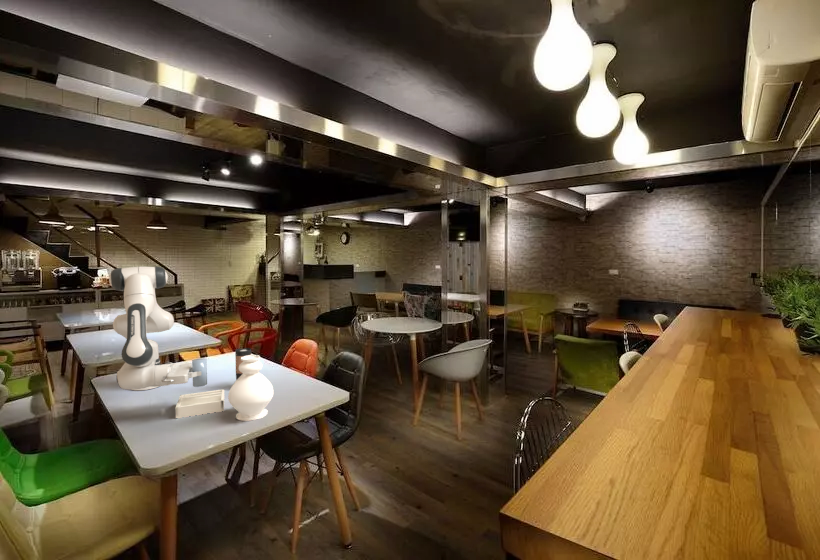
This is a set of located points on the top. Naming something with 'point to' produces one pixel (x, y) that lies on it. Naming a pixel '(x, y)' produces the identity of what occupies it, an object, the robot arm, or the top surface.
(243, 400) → the decorative vase
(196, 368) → the grey cylinder
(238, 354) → the travel mug
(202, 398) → the compartment tray
